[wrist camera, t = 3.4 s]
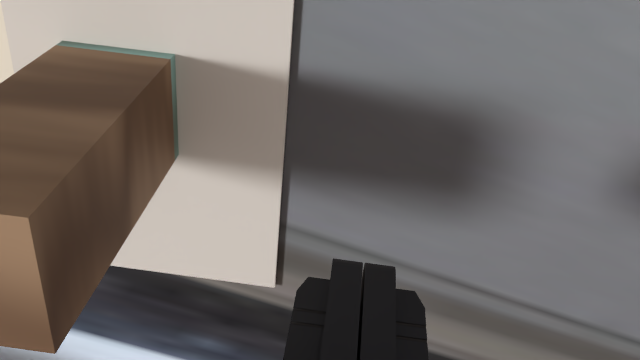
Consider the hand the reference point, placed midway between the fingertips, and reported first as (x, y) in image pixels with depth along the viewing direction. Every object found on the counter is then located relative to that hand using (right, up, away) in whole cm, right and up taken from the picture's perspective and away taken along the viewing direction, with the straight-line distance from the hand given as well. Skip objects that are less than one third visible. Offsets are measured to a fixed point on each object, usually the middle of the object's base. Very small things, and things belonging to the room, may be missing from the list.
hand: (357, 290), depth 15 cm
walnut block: (-8, +6, +8) cm, 12 cm away
